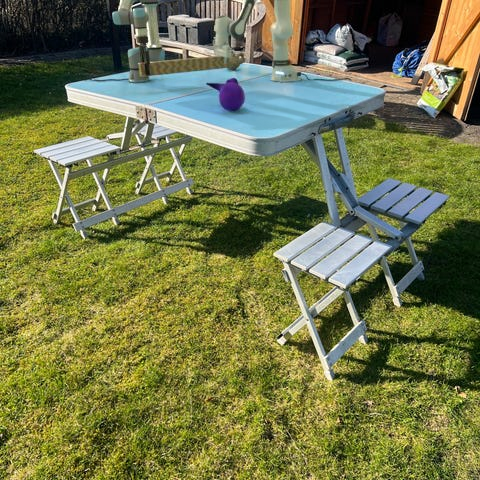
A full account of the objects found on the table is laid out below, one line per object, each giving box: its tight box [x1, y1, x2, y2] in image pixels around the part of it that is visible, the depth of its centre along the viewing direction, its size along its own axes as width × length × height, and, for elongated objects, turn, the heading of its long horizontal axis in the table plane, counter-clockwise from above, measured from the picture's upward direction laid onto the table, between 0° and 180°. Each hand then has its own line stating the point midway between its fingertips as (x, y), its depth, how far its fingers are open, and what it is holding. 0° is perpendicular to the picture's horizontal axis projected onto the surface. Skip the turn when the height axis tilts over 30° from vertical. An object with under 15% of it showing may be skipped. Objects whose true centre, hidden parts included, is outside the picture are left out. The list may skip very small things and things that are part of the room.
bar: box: [138, 55, 229, 77], centre depth 304 cm, size 64×4×8 cm, turn 119°
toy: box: [205, 77, 246, 112], centre depth 259 cm, size 16×18×27 cm
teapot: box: [226, 50, 245, 71], centre depth 369 cm, size 21×12×15 cm, turn 120°
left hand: (146, 74), depth 294 cm, fingers closed on bar, 4 cm apart
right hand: (222, 63), depth 316 cm, fingers closed on bar, 4 cm apart
